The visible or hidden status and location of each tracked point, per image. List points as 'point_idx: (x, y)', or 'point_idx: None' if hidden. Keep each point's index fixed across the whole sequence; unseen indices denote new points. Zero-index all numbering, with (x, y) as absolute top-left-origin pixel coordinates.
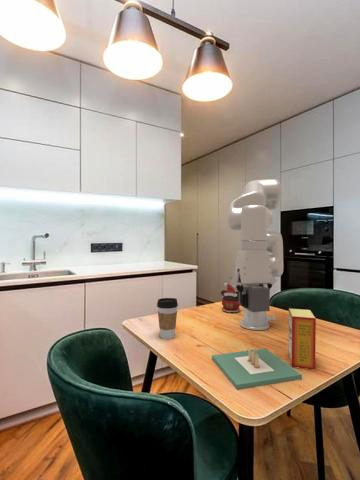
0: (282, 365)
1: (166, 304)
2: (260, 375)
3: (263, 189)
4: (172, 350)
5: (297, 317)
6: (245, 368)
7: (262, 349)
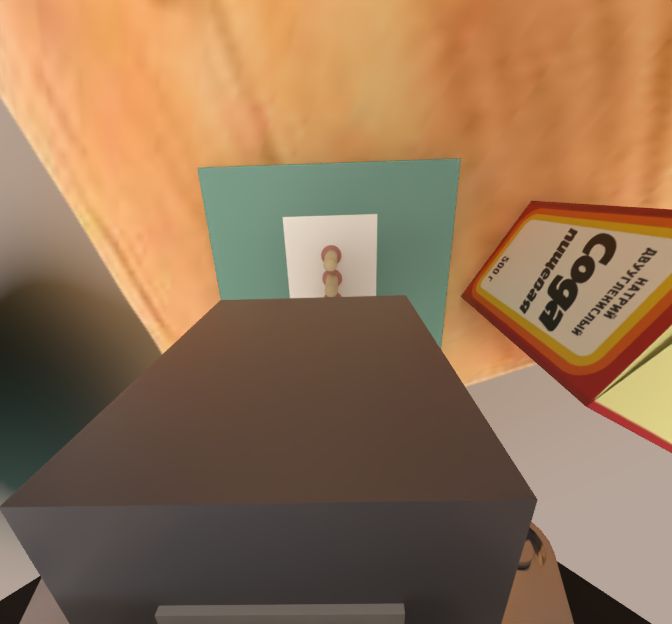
0: (423, 307)
1: None
2: None
3: None
4: (20, 21)
5: (608, 416)
6: None
7: (438, 164)
